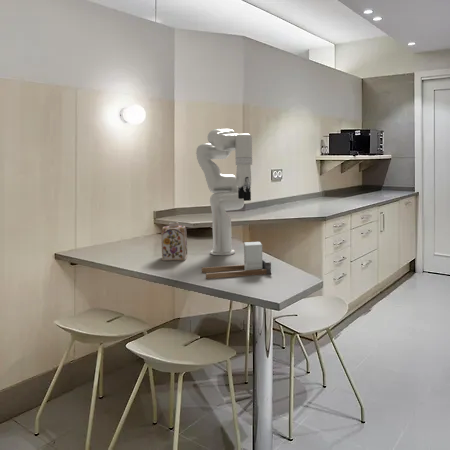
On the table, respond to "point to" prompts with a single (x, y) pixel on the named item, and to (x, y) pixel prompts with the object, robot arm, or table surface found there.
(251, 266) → the supplement box
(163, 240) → the decorative jar
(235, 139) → the robot arm
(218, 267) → the guide lane
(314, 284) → the table surface
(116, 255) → the table surface
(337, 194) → the table surface
